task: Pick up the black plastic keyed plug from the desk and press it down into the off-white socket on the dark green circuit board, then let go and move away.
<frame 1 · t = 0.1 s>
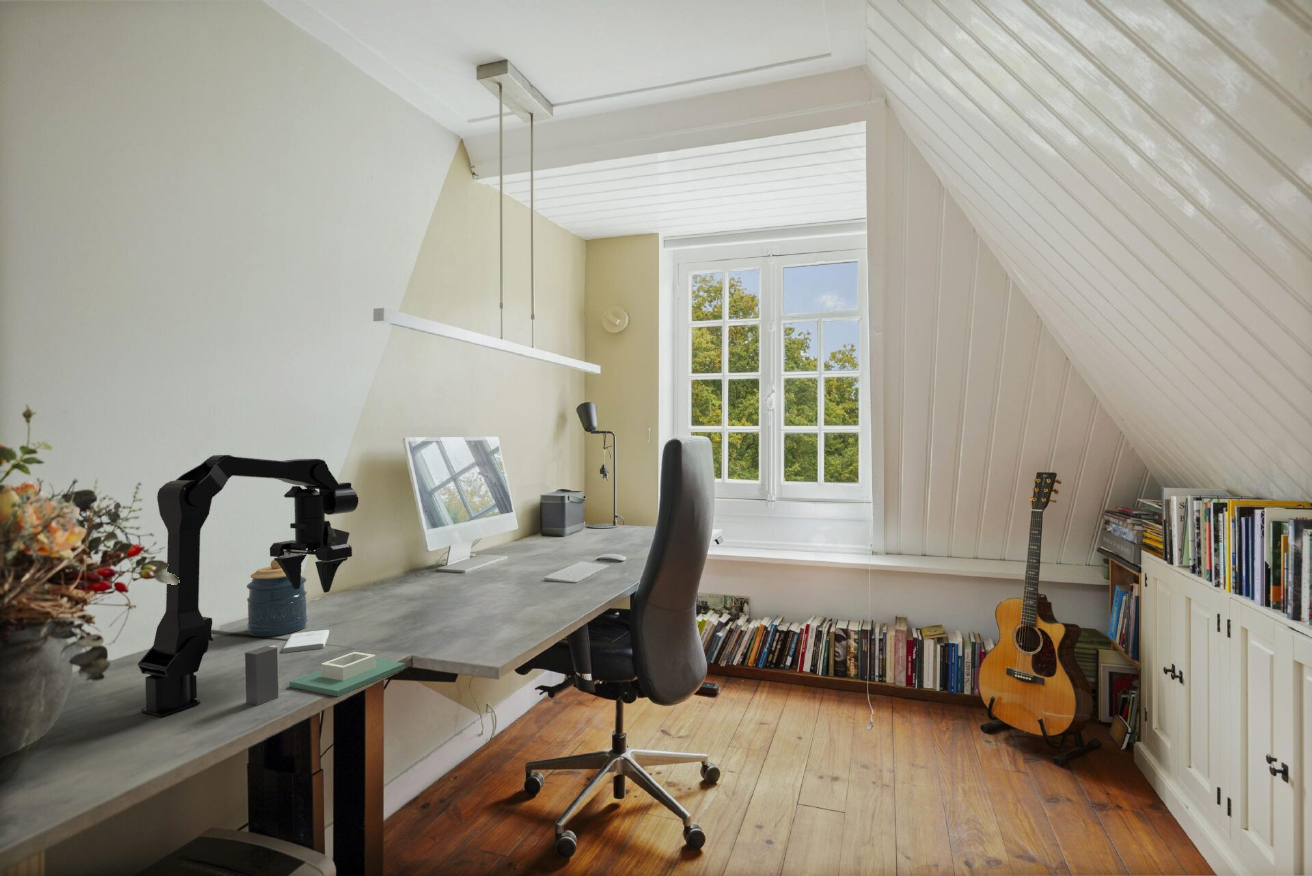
hand: (311, 590, 144), 15 cm above the table, fingers open, 9 cm apart
plug: (264, 699, 121), on the table
canister: (278, 630, 168), on the table
board: (349, 677, 132), on the table
external hard drive: (307, 645, 156), on the table
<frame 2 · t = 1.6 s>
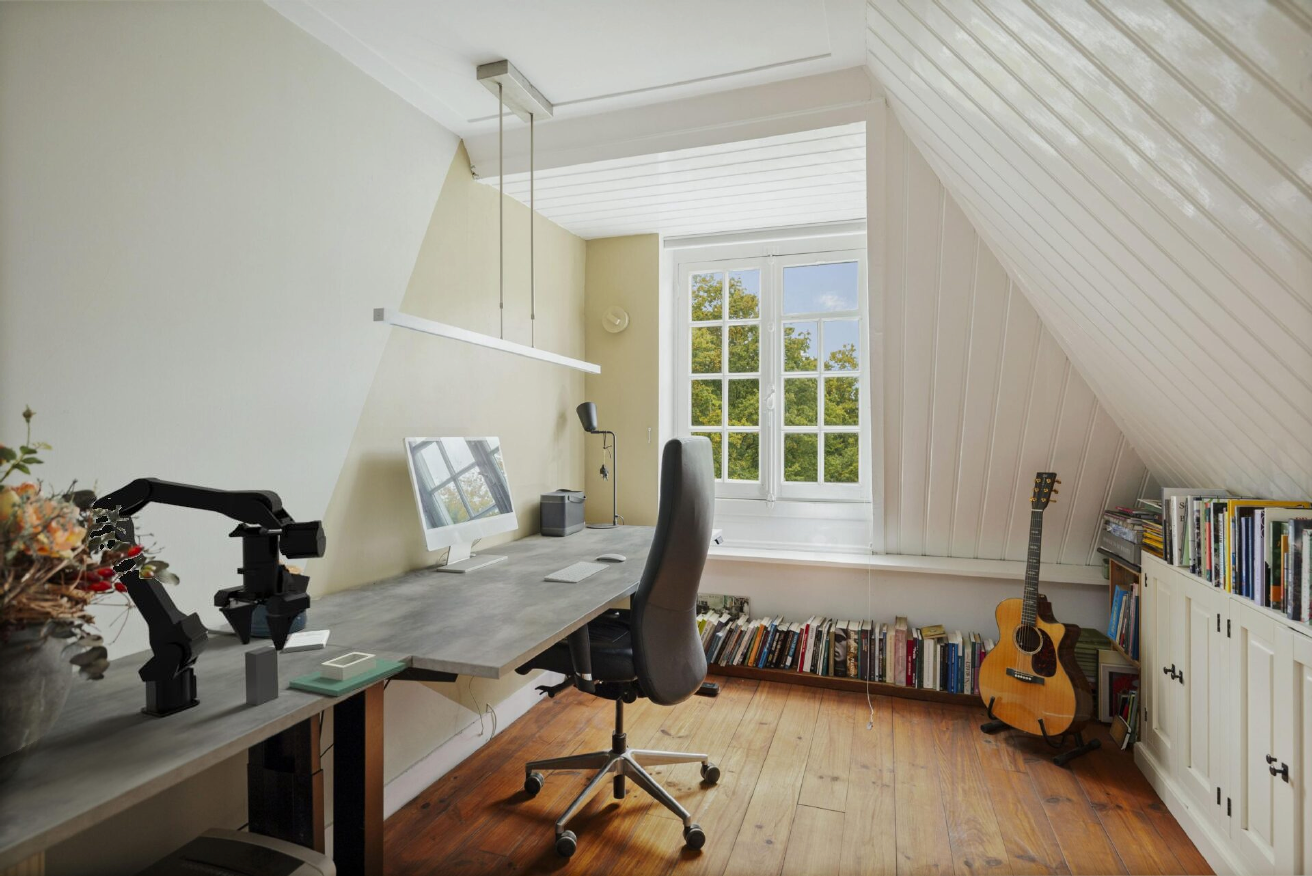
hand: (262, 647, 121), 9 cm above the table, fingers open, 9 cm apart
nothing on the table moved.
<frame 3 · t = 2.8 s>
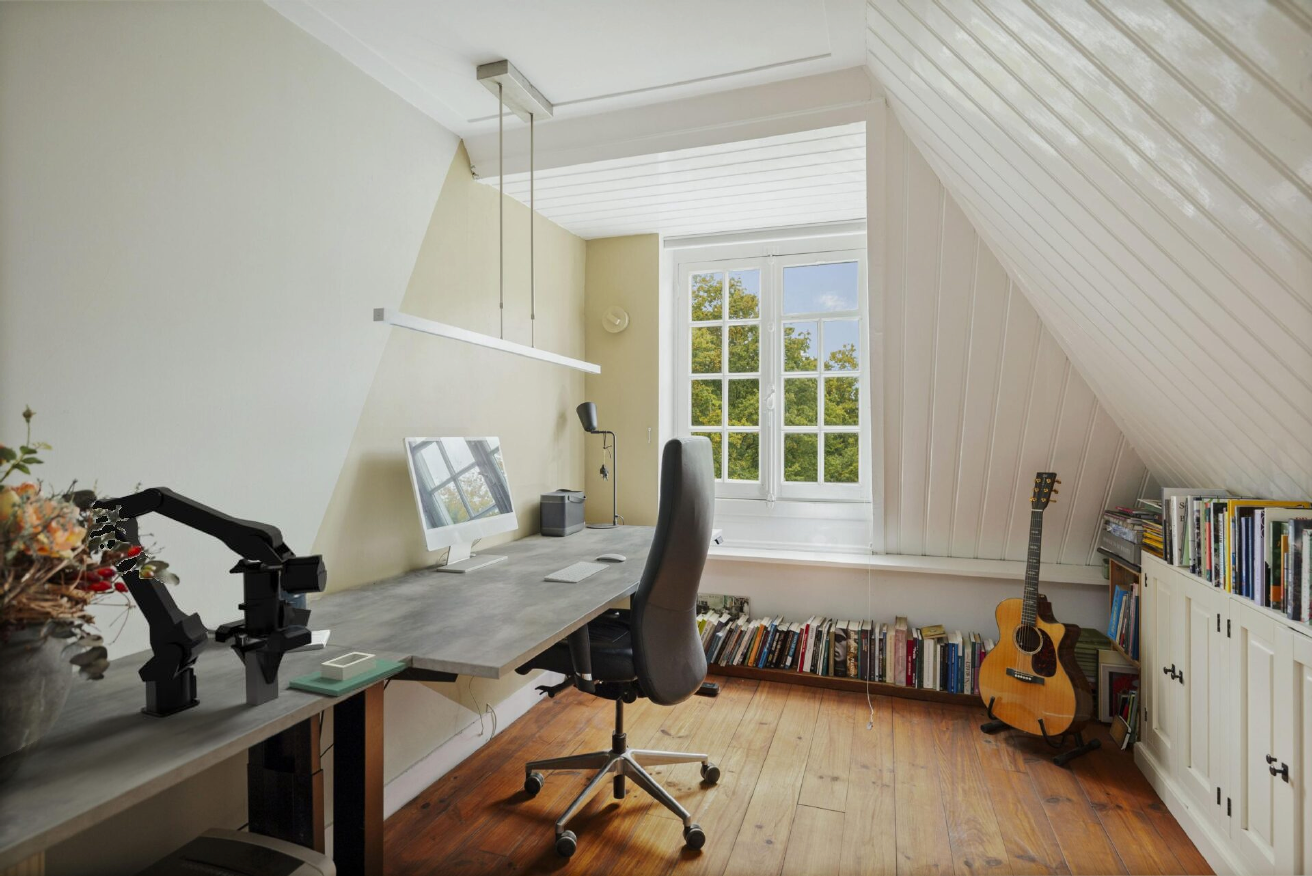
hand: (264, 682, 121), 3 cm above the table, fingers closed on plug, 3 cm apart
plug: (264, 699, 121), on the table, touching gripper
everything else where it was.
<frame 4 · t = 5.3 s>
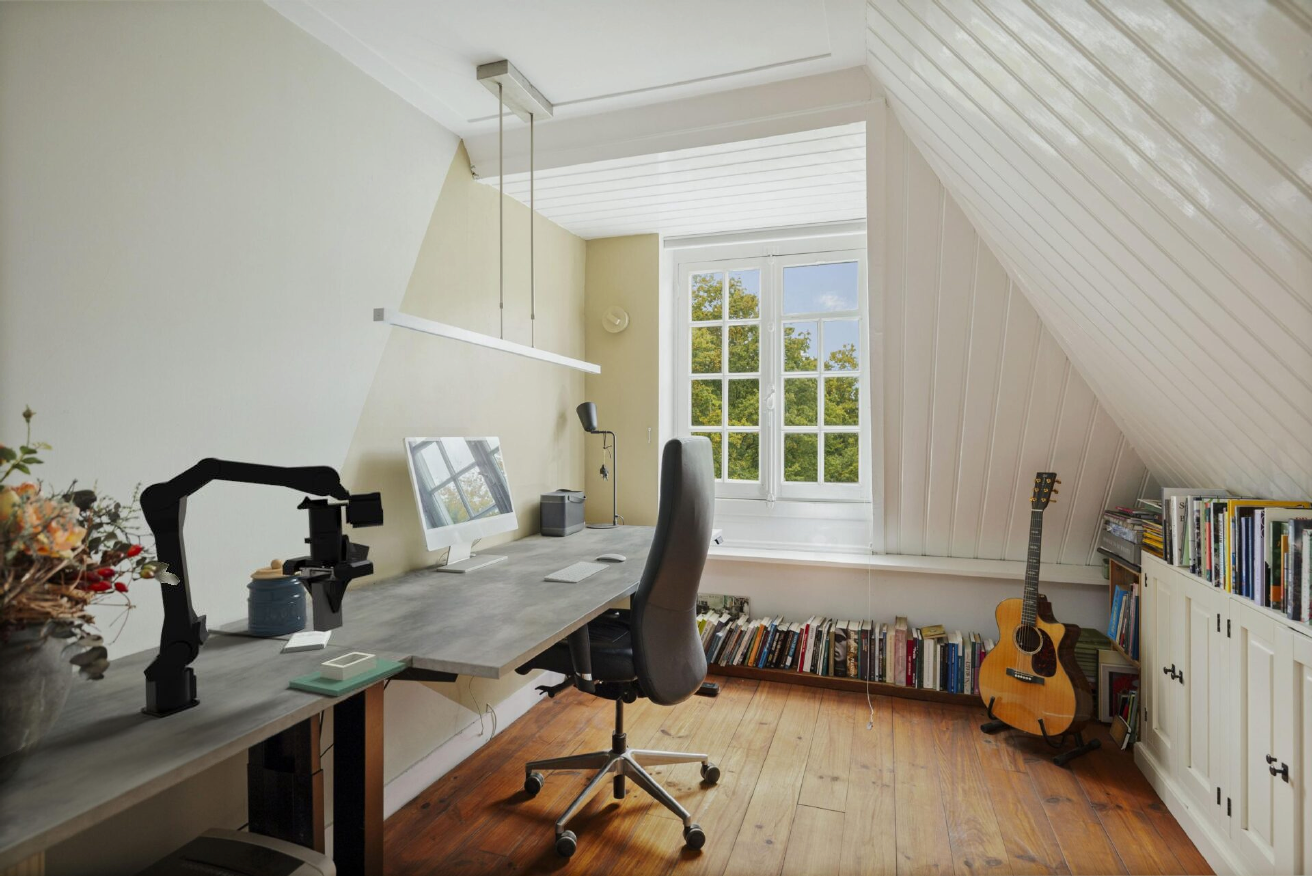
hand: (329, 612, 129), 13 cm above the table, fingers closed on plug, 3 cm apart
plug: (330, 627, 129), point 10 cm above the table, touching gripper
everything else where it was.
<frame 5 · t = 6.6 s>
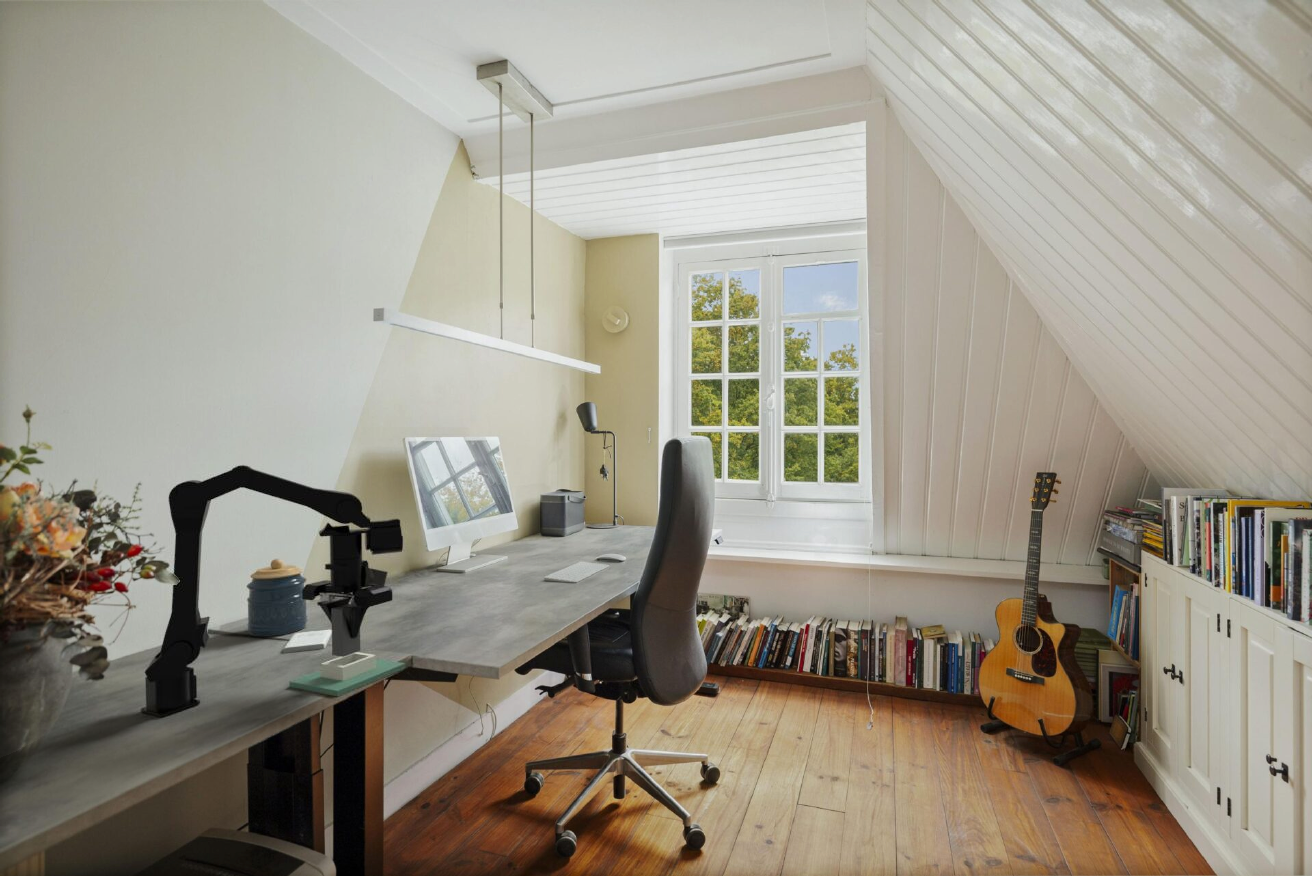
hand: (347, 637, 132), 8 cm above the table, fingers closed on plug, 3 cm apart
plug: (348, 652, 132), point 5 cm above the table, touching gripper
everything else where it was.
when the fingers open (4 cm above the table, at t = 7.8 s): plug stays where it is, resting on board.
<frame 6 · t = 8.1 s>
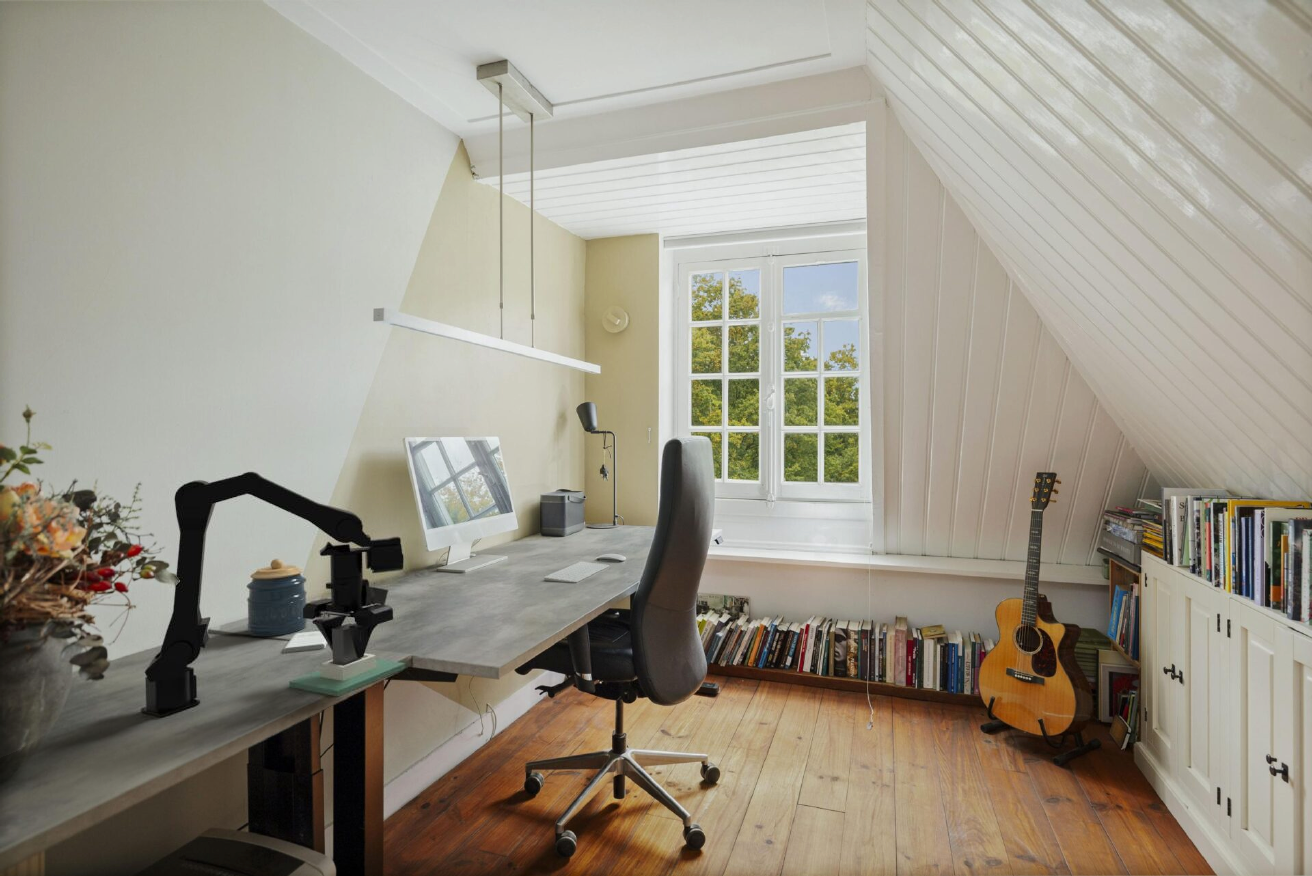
hand: (348, 655, 132), 4 cm above the table, fingers open, 6 cm apart
plug: (349, 672, 132), point 1 cm above the table, touching board
everything else where it was.
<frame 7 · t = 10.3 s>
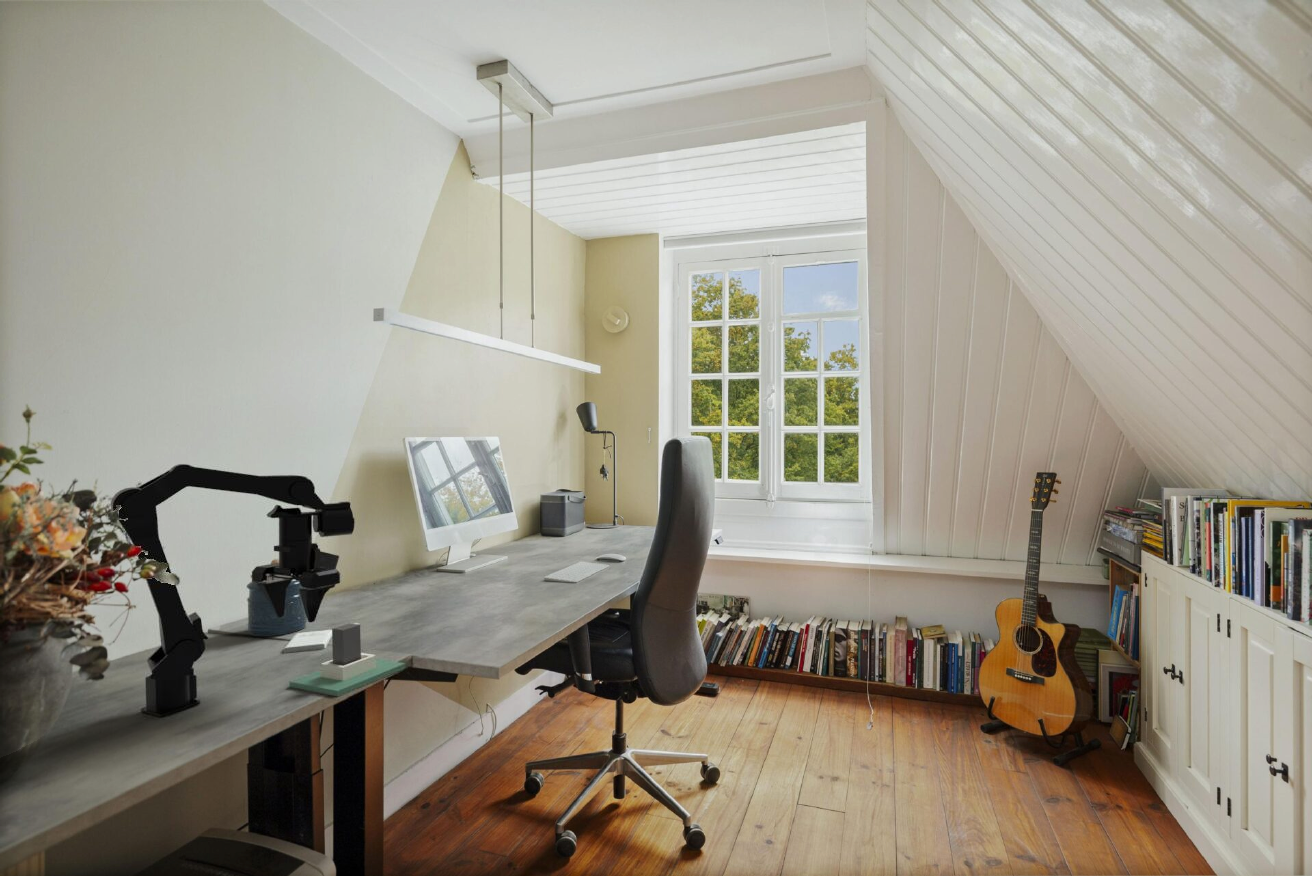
hand: (295, 619, 132), 12 cm above the table, fingers open, 9 cm apart
nothing on the table moved.
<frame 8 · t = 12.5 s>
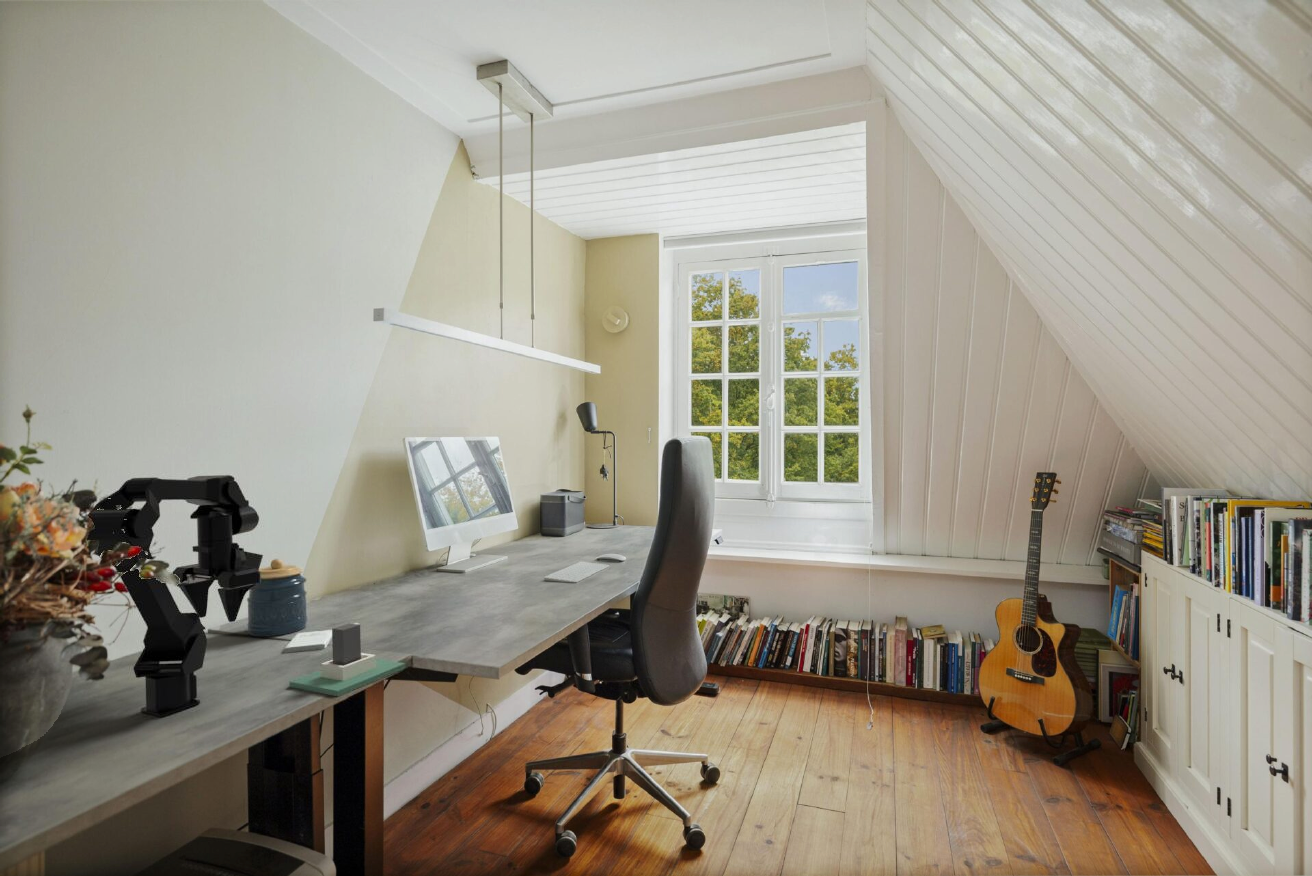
hand: (217, 619, 132), 12 cm above the table, fingers open, 9 cm apart
nothing on the table moved.
at the end: plug 0.0 cm off-centre on the board, point 1.0 cm above the board's base; plug tilted 0°; the gripper is holding nothing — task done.
